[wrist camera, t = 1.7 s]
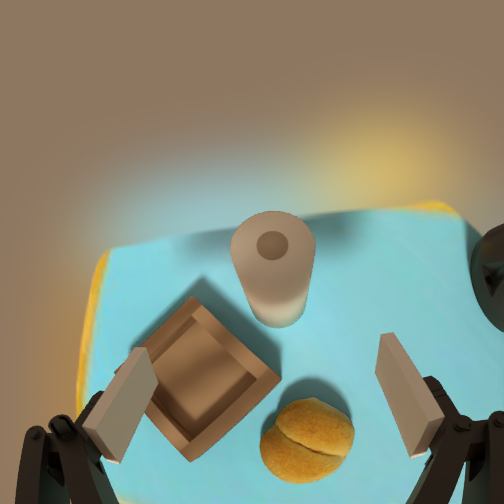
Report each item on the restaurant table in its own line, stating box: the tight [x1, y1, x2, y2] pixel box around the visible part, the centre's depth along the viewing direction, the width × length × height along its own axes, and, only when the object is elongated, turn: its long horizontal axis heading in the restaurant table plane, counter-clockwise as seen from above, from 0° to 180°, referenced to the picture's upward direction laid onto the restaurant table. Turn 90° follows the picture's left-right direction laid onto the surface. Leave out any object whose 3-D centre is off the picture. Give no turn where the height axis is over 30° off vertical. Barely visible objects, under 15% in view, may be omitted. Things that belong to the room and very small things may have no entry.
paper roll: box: [230, 211, 315, 328], centre depth 25 cm, size 6×6×12 cm
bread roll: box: [260, 397, 355, 484], centre depth 22 cm, size 8×9×4 cm
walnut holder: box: [114, 295, 282, 462], centre depth 26 cm, size 12×12×3 cm
